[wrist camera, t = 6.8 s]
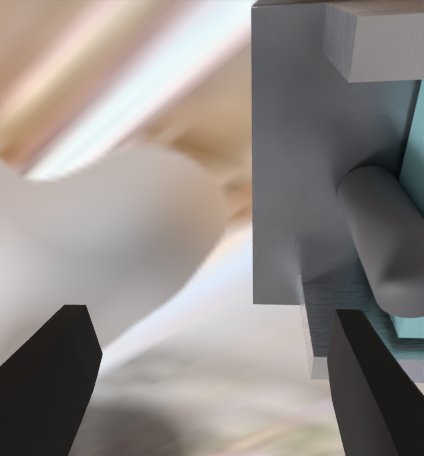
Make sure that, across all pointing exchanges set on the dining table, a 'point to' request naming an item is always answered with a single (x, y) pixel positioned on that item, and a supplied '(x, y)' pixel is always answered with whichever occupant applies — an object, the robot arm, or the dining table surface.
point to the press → (328, 153)
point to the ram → (392, 230)
